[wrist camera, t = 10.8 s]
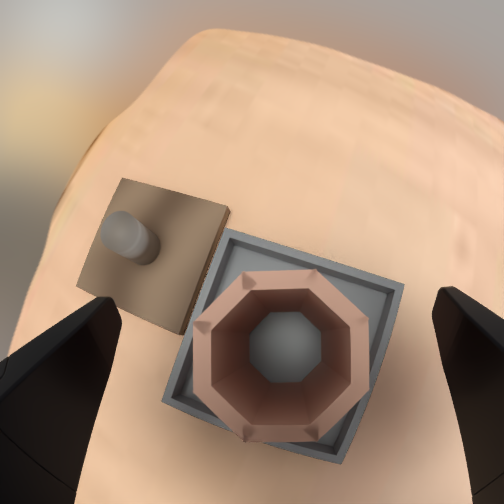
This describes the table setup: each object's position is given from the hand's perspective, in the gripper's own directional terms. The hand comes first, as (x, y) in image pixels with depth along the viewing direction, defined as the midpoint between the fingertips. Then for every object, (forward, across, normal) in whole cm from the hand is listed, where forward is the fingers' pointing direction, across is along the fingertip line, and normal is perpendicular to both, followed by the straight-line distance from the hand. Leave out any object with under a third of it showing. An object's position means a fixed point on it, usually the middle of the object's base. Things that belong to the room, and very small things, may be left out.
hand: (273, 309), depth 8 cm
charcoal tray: (+8, 0, +10) cm, 13 cm away
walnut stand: (+12, +9, +5) cm, 16 cm away
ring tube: (+7, 0, +10) cm, 12 cm away
